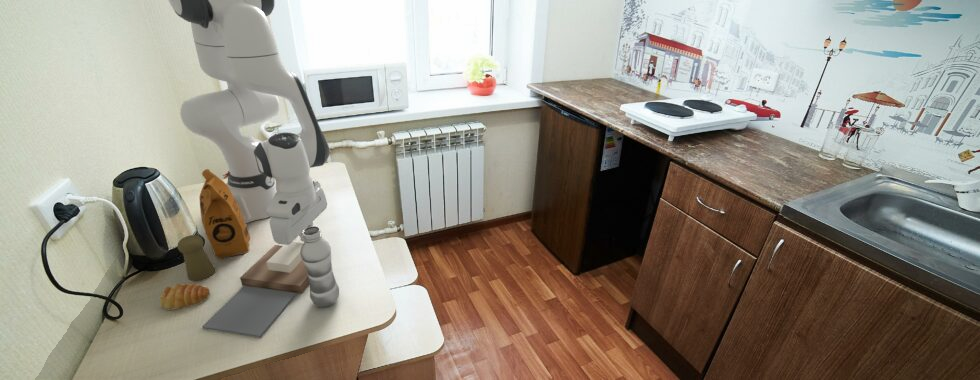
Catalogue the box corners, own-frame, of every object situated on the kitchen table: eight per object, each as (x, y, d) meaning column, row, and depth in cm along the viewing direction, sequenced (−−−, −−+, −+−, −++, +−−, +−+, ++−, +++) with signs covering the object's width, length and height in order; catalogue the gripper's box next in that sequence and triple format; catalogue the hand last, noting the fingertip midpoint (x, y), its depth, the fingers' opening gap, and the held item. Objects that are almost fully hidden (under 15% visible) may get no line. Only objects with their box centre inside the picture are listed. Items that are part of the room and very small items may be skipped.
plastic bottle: (310, 313, 95) (293, 241, 86) (313, 293, 101) (296, 224, 91) (340, 308, 97) (326, 237, 87) (341, 289, 102) (327, 220, 93)
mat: (202, 328, 91) (201, 326, 90) (244, 287, 102) (244, 285, 102) (260, 337, 89) (260, 335, 88) (296, 294, 100) (296, 292, 100)
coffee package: (210, 263, 110) (183, 191, 100) (211, 239, 120) (187, 171, 109) (252, 253, 114) (230, 182, 104) (250, 231, 124) (230, 164, 114)
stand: (242, 285, 103) (239, 277, 102) (277, 252, 115) (275, 244, 114) (301, 293, 101) (299, 285, 99) (330, 258, 113) (329, 251, 112)
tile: (268, 269, 104) (266, 261, 103) (289, 249, 112) (287, 241, 111) (290, 272, 104) (288, 264, 102) (310, 251, 111) (308, 243, 110)
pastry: (215, 287, 102) (210, 275, 100) (206, 307, 97) (200, 294, 95) (171, 294, 100) (165, 281, 98) (159, 314, 94) (153, 301, 93)
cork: (202, 283, 103) (188, 247, 98) (182, 279, 104) (166, 244, 99) (221, 268, 108) (208, 233, 103) (201, 265, 110) (188, 230, 104)
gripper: (307, 176, 118) (316, 218, 124) (261, 213, 100) (274, 259, 106) (328, 178, 117) (336, 220, 123) (285, 216, 99) (296, 262, 105)
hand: (307, 238), depth 115 cm, fingers closed
